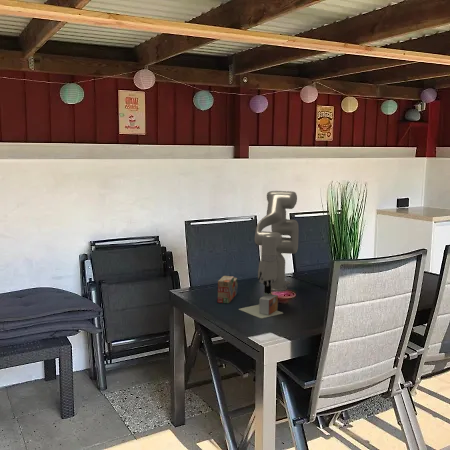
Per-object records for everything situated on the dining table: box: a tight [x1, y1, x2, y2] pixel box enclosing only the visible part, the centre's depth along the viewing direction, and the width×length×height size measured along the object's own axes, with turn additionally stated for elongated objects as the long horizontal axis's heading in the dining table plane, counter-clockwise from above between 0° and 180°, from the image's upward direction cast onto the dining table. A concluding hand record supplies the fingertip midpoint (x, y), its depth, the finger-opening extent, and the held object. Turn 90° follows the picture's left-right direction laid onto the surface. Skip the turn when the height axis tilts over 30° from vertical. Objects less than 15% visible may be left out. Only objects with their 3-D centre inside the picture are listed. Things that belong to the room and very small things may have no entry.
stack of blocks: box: [217, 275, 238, 304], centre depth 282 cm, size 21×6×12 cm, turn 165°
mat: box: [238, 304, 284, 320], centre depth 259 cm, size 15×18×1 cm
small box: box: [258, 293, 279, 315], centre depth 257 cm, size 8×6×10 cm
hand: (267, 292), depth 260 cm, fingers closed
